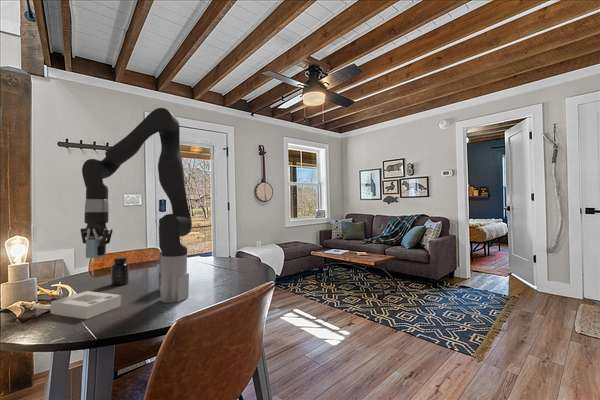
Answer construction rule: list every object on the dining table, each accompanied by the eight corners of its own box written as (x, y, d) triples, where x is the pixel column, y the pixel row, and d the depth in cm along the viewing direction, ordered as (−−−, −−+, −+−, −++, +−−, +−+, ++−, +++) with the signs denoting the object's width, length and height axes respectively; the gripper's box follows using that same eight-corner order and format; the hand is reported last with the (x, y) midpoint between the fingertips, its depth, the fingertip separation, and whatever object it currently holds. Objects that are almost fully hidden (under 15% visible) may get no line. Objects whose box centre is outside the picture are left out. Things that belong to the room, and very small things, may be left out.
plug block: (105, 256, 108) (106, 233, 108) (94, 258, 104) (95, 234, 104) (97, 255, 109) (97, 233, 109) (85, 257, 105) (86, 234, 105)
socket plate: (120, 306, 99) (120, 294, 99) (86, 319, 87) (87, 306, 87) (87, 301, 103) (87, 290, 103) (50, 313, 91) (50, 301, 91)
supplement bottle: (132, 282, 130) (132, 256, 130) (121, 286, 123) (121, 259, 123) (118, 281, 130) (119, 256, 131) (107, 285, 123) (107, 259, 124)
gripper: (119, 211, 109) (118, 254, 108) (92, 210, 112) (91, 252, 112) (101, 211, 101) (100, 257, 101) (73, 211, 105) (72, 255, 105)
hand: (95, 254), depth 106 cm, fingers closed on plug block, 4 cm apart
